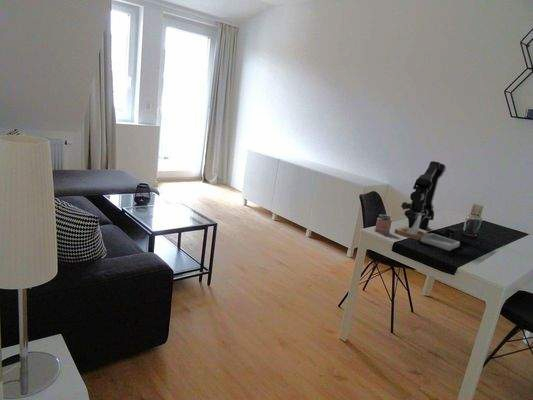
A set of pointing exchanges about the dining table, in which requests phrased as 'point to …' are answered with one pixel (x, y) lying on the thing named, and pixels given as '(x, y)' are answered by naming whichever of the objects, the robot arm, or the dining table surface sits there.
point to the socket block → (403, 229)
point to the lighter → (383, 224)
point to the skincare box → (415, 226)
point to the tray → (440, 242)
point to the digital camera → (454, 233)
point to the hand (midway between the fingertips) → (413, 227)
